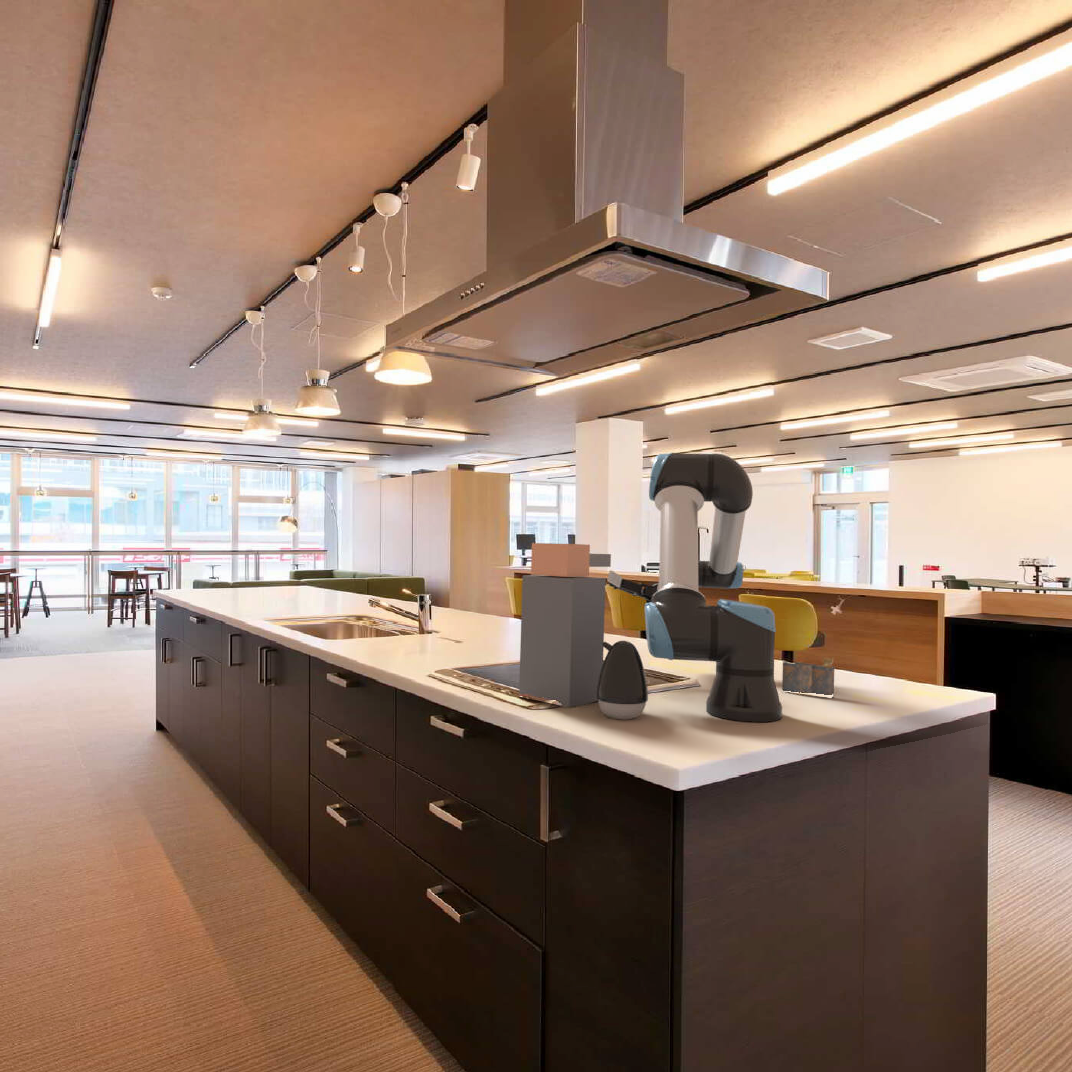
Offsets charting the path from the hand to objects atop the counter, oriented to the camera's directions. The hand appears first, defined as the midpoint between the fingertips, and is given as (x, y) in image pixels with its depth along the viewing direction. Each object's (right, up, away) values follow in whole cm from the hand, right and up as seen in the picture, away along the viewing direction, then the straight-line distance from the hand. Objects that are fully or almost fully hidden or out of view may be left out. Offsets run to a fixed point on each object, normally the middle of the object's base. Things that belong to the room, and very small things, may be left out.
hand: (634, 579), depth 179 cm
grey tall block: (-19, -25, -18) cm, 36 cm away
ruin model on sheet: (+41, -28, -5) cm, 50 cm away
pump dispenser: (-7, -26, -34) cm, 43 cm away
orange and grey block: (-15, +2, -14) cm, 20 cm away
